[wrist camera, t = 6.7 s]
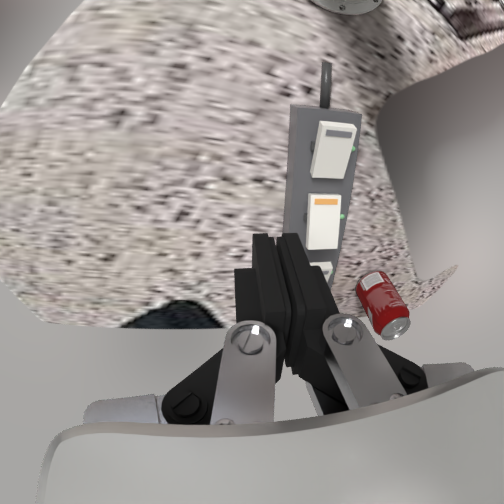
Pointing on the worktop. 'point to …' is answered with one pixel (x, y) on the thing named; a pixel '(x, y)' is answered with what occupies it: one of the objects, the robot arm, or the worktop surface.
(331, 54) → the worktop surface
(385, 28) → the worktop surface
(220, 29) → the worktop surface
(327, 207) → the block
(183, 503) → the robot arm
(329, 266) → the rocker
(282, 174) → the worktop surface
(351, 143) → the rocker
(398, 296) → the soda can
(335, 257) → the power strip
